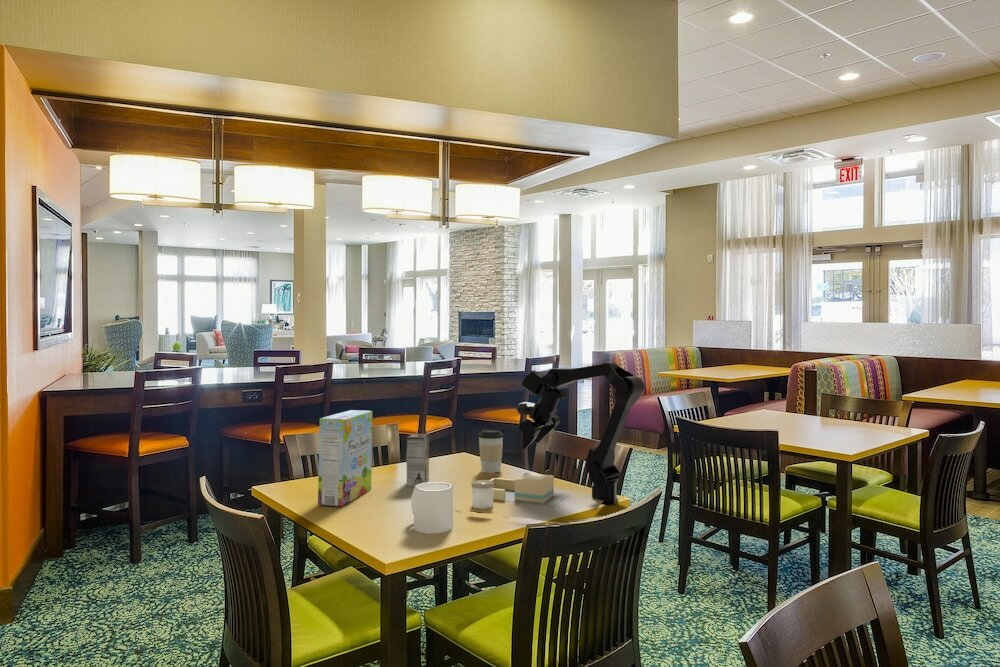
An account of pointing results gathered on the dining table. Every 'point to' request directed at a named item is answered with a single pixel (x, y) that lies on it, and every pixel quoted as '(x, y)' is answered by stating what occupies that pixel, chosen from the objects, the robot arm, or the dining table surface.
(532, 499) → the carton
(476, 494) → the sugar jar
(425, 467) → the coffee box
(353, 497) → the snack box
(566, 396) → the robot arm
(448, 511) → the mug
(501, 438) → the coffee cup
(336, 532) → the dining table surface
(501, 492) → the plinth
